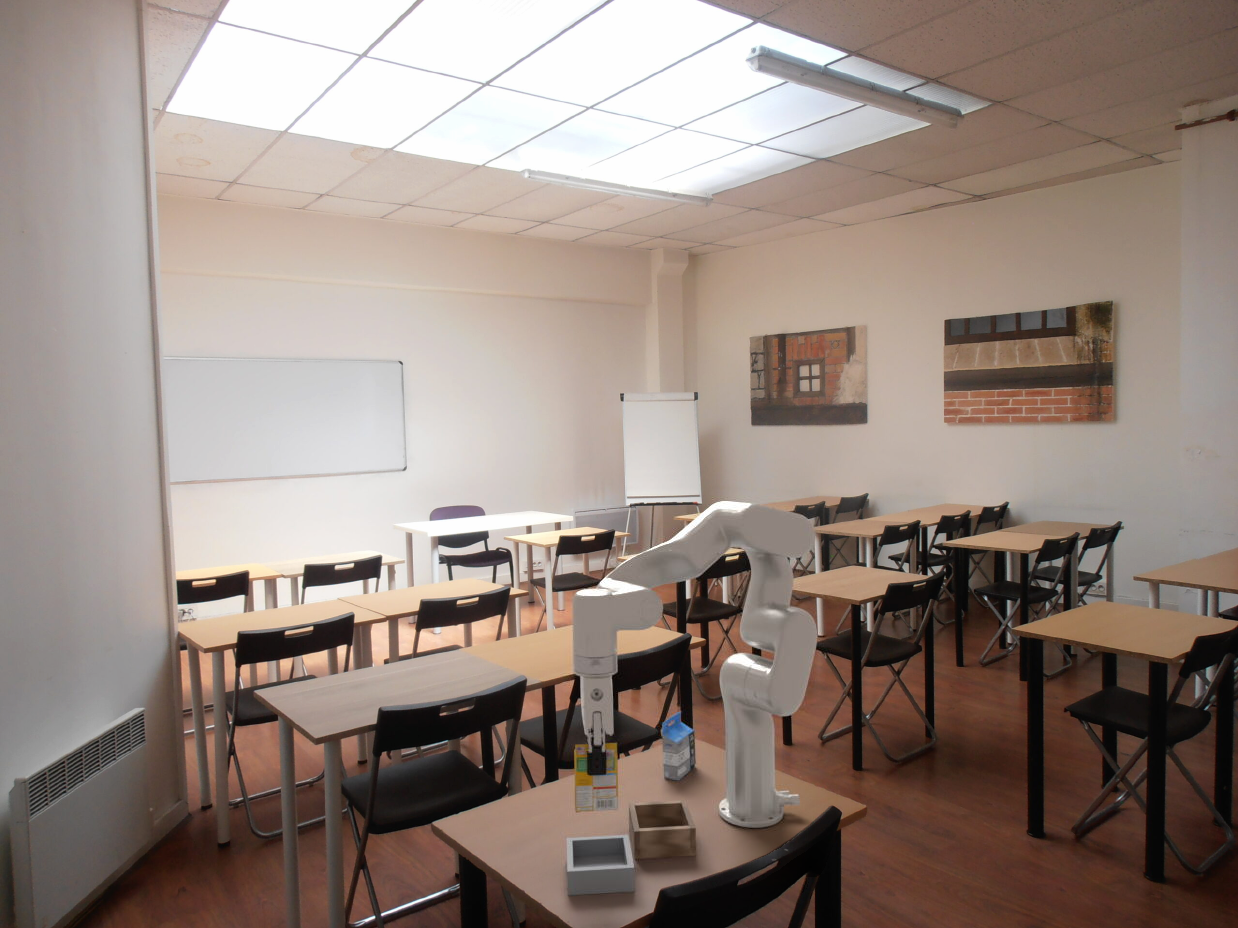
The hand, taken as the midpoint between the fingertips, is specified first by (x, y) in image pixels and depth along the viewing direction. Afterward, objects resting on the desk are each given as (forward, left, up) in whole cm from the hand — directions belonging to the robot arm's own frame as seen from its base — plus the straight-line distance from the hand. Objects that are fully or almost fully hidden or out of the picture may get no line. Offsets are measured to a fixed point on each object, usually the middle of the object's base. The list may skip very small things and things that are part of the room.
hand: (596, 768), depth 136 cm
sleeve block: (-12, -10, -19) cm, 24 cm away
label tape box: (-20, -40, -19) cm, 49 cm away
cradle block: (0, 0, -19) cm, 19 cm away
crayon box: (0, 0, -7) cm, 7 cm away
